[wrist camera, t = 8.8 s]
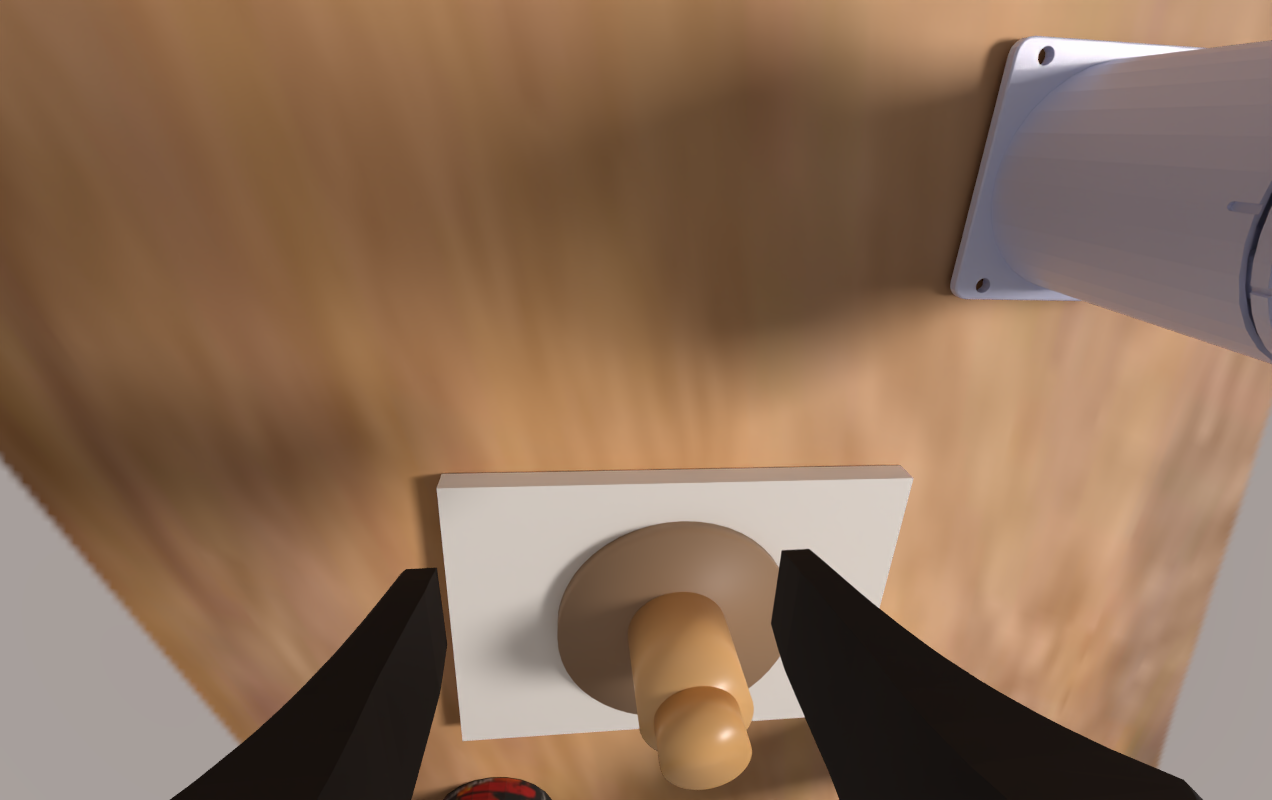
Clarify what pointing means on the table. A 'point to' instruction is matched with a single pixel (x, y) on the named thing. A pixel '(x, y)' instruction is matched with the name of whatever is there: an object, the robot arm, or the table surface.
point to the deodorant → (498, 790)
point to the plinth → (636, 577)
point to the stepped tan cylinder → (690, 690)
